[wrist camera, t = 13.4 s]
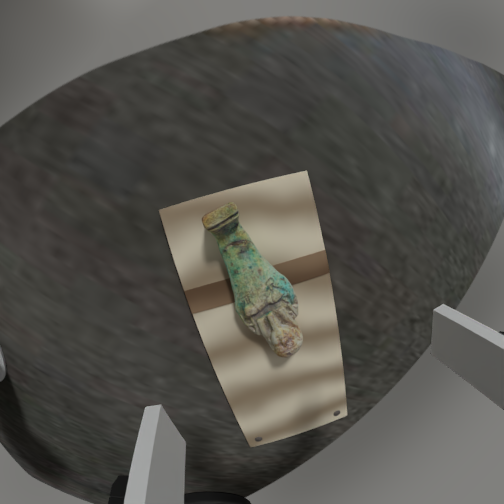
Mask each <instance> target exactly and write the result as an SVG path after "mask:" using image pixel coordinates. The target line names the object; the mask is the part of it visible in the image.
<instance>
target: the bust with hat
mask: <svg viewBox="0 0 504 504" xmlns="http://www.w3.org/2000/svg"><path fill="white" fill-rule="evenodd" d="M5 376H6V362H5V358H4V355H3V352H2V349H1V347H0V381H2V380H3V379H4V378H5Z"/></svg>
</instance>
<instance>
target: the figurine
mask: <svg viewBox="0 0 504 504" xmlns="http://www.w3.org/2000/svg"><path fill="white" fill-rule="evenodd" d="M202 223H203V226H204V228H205V229H207V231H209V232H210V233H212V235H213V236H214V237H215V238H216V241H217V244H218V247H219V250H220V253H221V256H222V258H223V260H224V263H225V265H226V268H227V271H228V274H229V277H230V281H231V286H232V290H233V293H234V298H235V309H236V312H237V313H238V315H239V317H240V318H241V320H242V321H243V323H244V324H245V325H246V326H247V327H248V328H249V329H250V330H251V331H252V332H253V333H255V334H257V335H260V334H261V335H263V336H264V337H265V339H266V341H267V342H268V344H269V345H270V347H271V348H272V350H273V351H274V353H275V354H277V355H278V356H279V357H284V358H288V357H290V356H292V355H294V354H295V353H297V352H298V351H299V349H300V347H301V345H302V342H303V336H302V333H301V330H300V328H299V325H298V323H297V322H296V320H295V318H296V317H297V316H298V305H299V304H298V300H297V297H296V294H295V292H294V289H293V287H292V285H291V283H290V282H289V281H288V279H287V278H286V277H285V276H284V275H282V274H281V273H279V272H278V271H277V270H276V269H275V268H274V267H273V266H272V265H271V264H270V263H269V262H268V261H267V260H266V259H265V258H264V257H263V256H262V255H261V254H260V252H259V251H258V250H257V248H256V247H255V245H254V243H253V242H252V240H251V238H250V236H249V235H248V233H247V232H246V231H245V230H244V229H243V227H242V226H241V224H240V222H239V211H238V208H237V206H236V204H235V203H234V202H229V203H227V204H225V205H223V206H221V207H219V208H217V209H215V210H213V211H211V212H209V213H207V214H205V215H204V216H203V217H202Z"/></svg>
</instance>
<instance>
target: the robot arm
mask: <svg viewBox="0 0 504 504" xmlns="http://www.w3.org/2000/svg"><path fill="white" fill-rule="evenodd" d="M430 354H431V355H432V356H434V357H435V358H436V359H438V360H439V361H440V362H442V363H443V364H445V365H446V366H447V367H448V368H450V369H451V370H452V371H454V372H455V373H456V374H458V375H459V376H460V377H462V378H463V379H464V380H466V381H467V382H468V383H470V384H471V385H472V386H474V387H475V388H476V389H477V390H479V391H480V392H481V393H483V394H484V395H485V396H486V397H488V398H489V399H490V400H492V401H493V402H494V403H495V404H497V405H498V406H499V407H500V408H502V409H503V410H504V332H501V331H500V332H497V331H495V330H492V329H491V328H489V327H487V326H485V325H483V324H481V323H479V322H477V321H476V320H473V319H472V318H470V317H467V316H466V315H464V314H462V313H460V312H458V311H456V310H454V309H452V308H450V307H448V306H446V305H444V304H443V305H441V306H439V307H437V308H436V309H434V310H433V327H432V341H431V352H430ZM185 452H186V442H185V440H184V439H183V438H182V436H181V435H180V433H179V432H178V430H177V429H176V427H175V426H174V424H173V423H172V421H171V420H170V418H169V417H168V415H167V413H166V412H165V410H164V409H163V407H162V405H155V406H148V407H145V411H144V414H143V418H142V422H141V426H140V430H139V434H138V438H137V443H136V447H135V451H134V456H133V460H132V465H131V469H130V474H129V476H120V475H119V476H118V478H117V479H116V480H115V482H114V483H113V485H112V489H111V493H110V496H111V497H109V502H108V504H251V503H250V501H249V500H247V499H246V498H244V497H241V496H238V495H234V494H228V493H219V492H198V493H190V494H185V495H184V479H185Z"/></svg>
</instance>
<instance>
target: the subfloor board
mask: <svg viewBox="0 0 504 504" xmlns="http://www.w3.org/2000/svg"><path fill="white" fill-rule="evenodd" d="M229 202H234V203H235V204H236V206H237V208H238V211H239V222H240V224H241V226H242V227H243V229H244V230H245V231H246V232H247V233H248V235H249V236H250V238H251V240H252V242H253V243H254V245H255V247H256V248H257V250H258V251H259V252H260V254H261V255H262V256H263V257H264V258H265V259H266V260H267V261H268V262H269V263H270V264H271V265H272V266H273V267H274V268H275V269H276V270H277V271H278V272H279V273H281V274H282V275H284V276H285V277H286V278H287V279H288V281H289V282H290V283H291V285H292V287H293V289H294V292H295V294H296V297H297V300H298V304H299V305H298V316H297V317H296V318H295V320H296V322H297V323H298V325H299V328H300V330H301V333H302V336H303V342H302V345H301V347H300V349H299V351H298V352H297V353H295V354H294V355H292V356H290V357H288V358H284V357H279V356H278V355H277V354H275V353H274V351H273V350H272V348H271V347H270V345H269V344H268V342H267V341H266V339H265V337H264V336H263V335H261V334H260V335H257V334H255V333H253V332H252V331H251V330H250V329H249V328H248V327H247V326H246V325H245V324H244V323H243V321H242V320H241V318H240V317H239V315H238V313H237V312H236V309H235V298H234V293H233V290H232V286H231V281H230V277H229V274H228V271H227V268H226V265H225V263H224V260H223V258H222V256H221V253H220V250H219V247H218V244H217V241H216V238H215V237H214V236H213V235H212V233H210V232H209V231H207V229H205V228H204V226H203V223H202V217H203V216H204V215H205V214H207V213H209V212H211V211H213V210H215V209H217V208H219V207H221V206H223V205H225V204H227V203H229ZM159 212H160V216H161V219H162V223H163V226H164V229H165V233H166V236H167V240H168V243H169V246H170V249H171V253H172V256H173V259H174V262H175V265H176V268H177V271H178V274H179V277H180V280H181V283H182V286H183V289H184V292H185V295H186V298H187V301H188V304H189V307H190V309H191V312H192V314H193V317H194V320H195V322H196V325H197V328H198V330H199V333H200V335H201V338H202V340H203V343H204V346H205V348H206V351H207V353H208V355H209V358H210V360H211V363H212V365H213V368H214V370H215V372H216V375H217V377H218V379H219V382H220V384H221V386H222V388H223V391H224V393H225V395H226V397H227V400H228V402H229V404H230V406H231V408H232V410H233V413H234V415H235V417H236V419H237V421H238V423H239V425H240V427H241V429H242V431H243V433H244V435H245V437H246V439H247V441H248V443H249V445H250V447H254V446H258V445H262V444H266V443H269V442H273V441H277V440H280V439H283V438H287V437H290V436H293V435H296V434H299V433H302V432H305V431H308V430H311V429H314V428H317V427H319V426H322V425H325V424H327V423H330V422H332V421H335V420H337V419H340V418H342V417H344V416H347V405H346V393H345V382H344V372H343V363H342V354H341V346H340V338H339V331H338V324H337V317H336V310H335V304H334V297H333V291H332V286H331V280H330V274H329V273H330V272H329V267H328V261H327V256H326V251H325V248H324V243H323V238H322V233H321V229H320V224H319V219H318V215H317V210H316V206H315V202H314V198H313V193H312V189H311V185H310V181H309V177H308V173H307V171H303V172H298V173H294V174H289V175H285V176H280V177H276V178H272V179H268V180H264V181H260V182H256V183H252V184H248V185H244V186H240V187H236V188H232V189H229V190H225V191H221V192H218V193H214V194H211V195H207V196H204V197H200V198H197V199H193V200H190V201H187V202H183V203H180V204H177V205H173V206H170V207H167V208H164V209H161V210H159Z"/></svg>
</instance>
